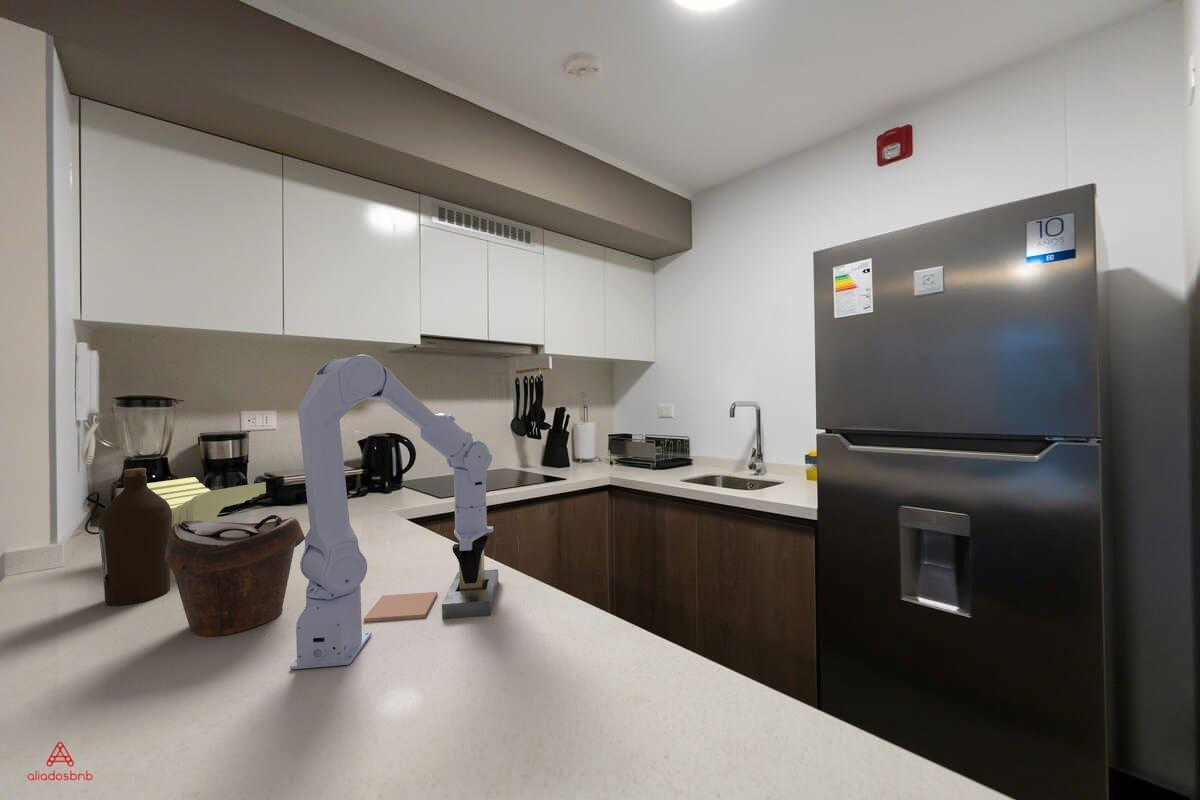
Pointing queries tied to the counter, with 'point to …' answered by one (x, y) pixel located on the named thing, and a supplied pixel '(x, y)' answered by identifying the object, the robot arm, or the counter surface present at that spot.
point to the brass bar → (480, 580)
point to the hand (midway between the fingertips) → (472, 578)
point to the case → (232, 571)
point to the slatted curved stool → (201, 498)
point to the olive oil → (135, 542)
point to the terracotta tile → (401, 607)
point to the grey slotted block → (470, 598)
